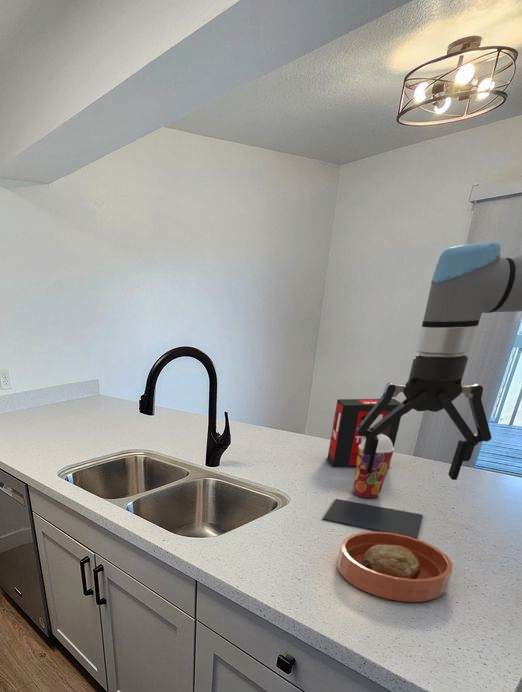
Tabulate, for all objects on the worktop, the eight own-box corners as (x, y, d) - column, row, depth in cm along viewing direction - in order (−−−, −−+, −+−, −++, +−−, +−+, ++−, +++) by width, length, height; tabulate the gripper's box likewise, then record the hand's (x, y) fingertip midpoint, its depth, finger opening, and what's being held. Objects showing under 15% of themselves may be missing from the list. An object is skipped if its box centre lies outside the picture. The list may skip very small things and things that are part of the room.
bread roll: (352, 579, 92) (346, 554, 87) (389, 551, 93) (385, 524, 88) (395, 605, 83) (390, 579, 79) (435, 574, 84) (433, 546, 80)
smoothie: (376, 488, 125) (392, 419, 116) (387, 500, 118) (405, 427, 109) (345, 488, 126) (359, 419, 117) (354, 499, 119) (369, 427, 110)
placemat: (422, 515, 109) (422, 514, 109) (416, 539, 99) (416, 537, 99) (335, 500, 120) (336, 498, 120) (322, 519, 110) (323, 518, 110)
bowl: (447, 566, 89) (454, 545, 86) (441, 616, 76) (449, 593, 73) (347, 543, 99) (351, 524, 97) (327, 583, 86) (331, 562, 84)
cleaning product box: (332, 467, 142) (343, 405, 133) (327, 458, 150) (337, 399, 141) (388, 468, 138) (404, 404, 129) (380, 459, 146) (394, 398, 137)
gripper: (527, 350, 71) (484, 472, 80) (355, 352, 80) (335, 462, 89) (546, 356, 65) (497, 487, 74) (358, 357, 74) (336, 474, 83)
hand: (409, 474), depth 82 cm, fingers open, 13 cm apart
